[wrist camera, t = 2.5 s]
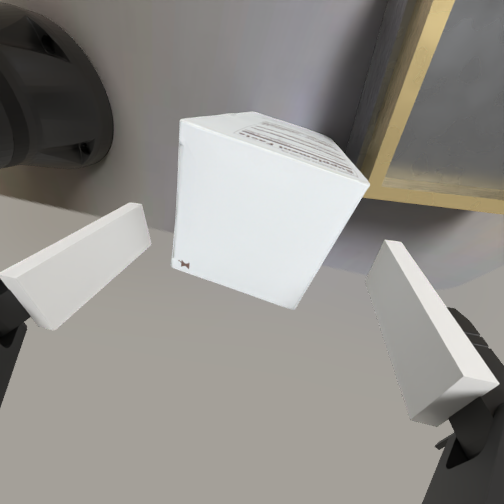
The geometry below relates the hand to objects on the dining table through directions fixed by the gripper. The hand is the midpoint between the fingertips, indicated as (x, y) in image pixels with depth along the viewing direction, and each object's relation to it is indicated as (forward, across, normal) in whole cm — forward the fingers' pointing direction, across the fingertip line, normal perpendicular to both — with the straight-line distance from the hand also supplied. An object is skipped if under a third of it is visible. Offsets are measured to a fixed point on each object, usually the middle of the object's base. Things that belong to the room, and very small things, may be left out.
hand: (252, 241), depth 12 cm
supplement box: (+17, 0, 0) cm, 17 cm away
